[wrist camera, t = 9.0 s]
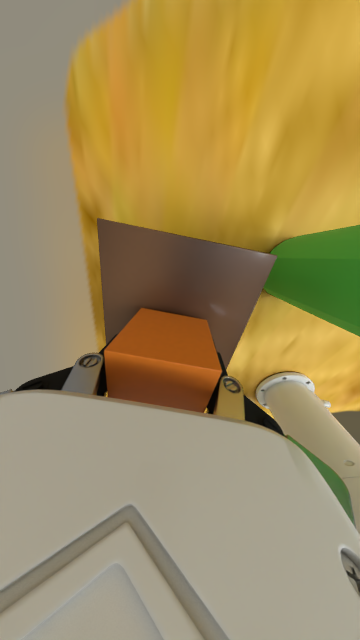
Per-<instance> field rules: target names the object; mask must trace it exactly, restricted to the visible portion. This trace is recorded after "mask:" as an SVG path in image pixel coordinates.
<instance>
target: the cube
mask: <svg viewBox="0 0 360 640" xmlns="http://www.w3.org/2000/svg"><path fill="white" fill-rule="evenodd" d="M104 358H105V369H106V380H107V392H108V397H109V398H116V399H122V400H128V401H134V402H141V403H147V404H153V405H159V406H165V407H171V408H177V409H183V410H189V411H195V412H201V413H204V411H205V409H206V407H207V404H208V402H209V400H210V398H211V395H212V393H213V391H214V388H215V386H216V384H217V382H218V379H219V377H220V375H221V373H222V369H221V366H220V363H219V359H218V356H217V353H216V349H215V346H214V342H213V339H212V336H211V332H210V329H209V326H208V322H207V320H204V319H199V318H193V317H188V316H183V315H177V314H172V313H167V312H161V311H156V310H151V309H145V308H141V309H140V310H139V311H138V312H137V314H136V315H135V316H134V317H133V318H132V319H131V320H130V321H129V323H128V324H127V325H126V326H125V327H124V328H123V329H122V331H121V332H120V333H119V334H118V335H117V336H116V337H115V338H114V340H113V341H112V342H111V343H110V344H109V345H108V346H107V348H106V349H105V350H104Z"/></svg>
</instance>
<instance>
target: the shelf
mask: <svg viewBox="0 0 360 640" xmlns="http://www.w3.org/2000/svg"><path fill="white" fill-rule="evenodd" d="M97 225H98V239H99V252H100V266H101V279H102V293H103V306H104V320H105V333H106V345H107V343H108V342H109V341H110V340H111V339H112V338H113V337H114V336H115V335H116V334H119V333H120V332H121V331H122V329H123V328H124V327H125V326H126V325H127V324H128V323H129V321H130V320H131V319H132V318H133V317H134V316H135V315H136V314H137V312H138V311H139V310H140V309H141V308H145V309H151V310H156V311H161V312H167V313H172V314H177V315H183V316H188V317H193V318H199V319H204V320H207V322H208V326H209V329H210V332H211V336H212V337H213V340H214V343H215V346H216V350H217V352H219V353H220V354H221V357H222V360H223V363H224V366H225V369H227V367H228V364H229V362H230V360H231V358H232V356H233V353H234V351H235V349H236V347H237V344H238V342H239V340H240V338H241V336H242V333H243V331H244V329H245V327H246V325H247V322H248V320H249V318H250V316H251V314H252V311H253V309H254V307H255V305H256V303H257V300H258V298H259V296H260V294H261V292H262V289H263V287H264V285H265V283H266V281H267V278H268V276H269V274H270V272H271V270H272V267H273V265H274V263H275V261H276V259H277V255H273V254H269V253H264V252H259V251H254V250H249V249H244V248H240V247H235V246H230V245H225V244H220V243H215V242H210V241H206V240H201V239H196V238H191V237H186V236H181V235H177V234H172V233H167V232H162V231H157V230H152V229H148V228H143V227H138V226H133V225H128V224H123V223H119V222H114V221H109V220H104V219H99V218H97Z"/></svg>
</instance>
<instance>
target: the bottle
mask: <svg viewBox="0 0 360 640" xmlns="http://www.w3.org/2000/svg"><path fill="white" fill-rule="evenodd" d="M270 254H273V255H277V259H276V261H275V263H274V265H273V267H272V270H271V272H270V274H269V276H268V278H267V281H266V283H265V285H264V287H263V288H264V289H265V290H266V292H267V293H268V294H270V295H273V296H275V297H277V298H279V299H281V300H283V301H285V302H287V303H289V304H292V305H294V306H296V307H298V308H300V309H302V310H304V311H306V312H308V313H311V314H313V315H315V316H317V317H319V318H321V319H323V320H326V321H328V322H330V323H332V324H334V325H336V326H338V327H341V328H343V329H345V330H347V331H349V332H351V333H353V334H355V335H358V336H360V225H357V226H351V227H346V228H340V229H335V230H329V231H324V232H319V233H313V234H308V235H302V236H297V237H294V238H291V239H288V240H285V241H284V242H282V243H281V244H279V245H278V246H276V247H275V248H274V249H273V250H272V251H271V253H270Z"/></svg>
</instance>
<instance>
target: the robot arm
mask: <svg viewBox="0 0 360 640" xmlns="http://www.w3.org/2000/svg"><path fill="white" fill-rule="evenodd" d="M117 335H118V334H116V335H115V336H114V337H113V338H112V339H111V340H110V341H109V342H108V343H107V345H106V346H105V347H104V348H103V349H102V350H101V351H100V352H99V353H89V354H85V355H83V356H82V357H80V358H79V359H78V360H77V361H76V363H75V365H74V366H73V367H70V368H66V369H64V370H60V371H58V372H54V373H51V374H48V375H45V376H42V377H39V378H36V379H33V380H30V381H28V382H26V383H24V384H22V385H21V386H20V387H19V388H17V389H16V390H15V391H12V389H11V390H7V391H4V392H1V393H0V640H360V445H359V444H358V443H357V442H356V441H355V439H354V438H352V436H351V435H350V434H349V433H348V432H347V431H346V430H345V429H344V427H343V426H342V425H341V424H340V423H339V422H338V421H337V420H336V419H335V417H334V416H333V415H332V414H331V413H330V412H329V410H328V409H327V408H326V407H328V408H329V407H330V406H331V404H330V402H329V401H326V400H320V399H319V398H318V397H317V395H316V394H315V393H314V390H315V387H314V384H313V382H312V381H311V380H310V379H309V378H308V377H307V376H305V375H303V374H300V373H296V372H284V373H279V374H276V375H273V376H270V377H268V378H267V379H265V380H264V381H263V382H261V383H260V385H259V386H258V387H257V390H256V398H257V400H258V402H259V403H260V404H261V405H262V406H263V407H265V408H268V409H270V411H271V413H272V415H273V417H274V418H275V420H276V421H275V420H274V419H273V418H272V417H270V416H269V415H268V414H267V413H265V412H264V411H263V410H262V409H261V408H259V407H258V406H257V405H256V404H254V403H253V402H252V401H251V400H250V399H248V398H247V397H246V396H245V395H243V387H242V385H241V384H240V382H239V381H238V380H236V379H235V378H233V377H231V376H228V375H227V372H226V369H225V366H224V363H223V360H222V357H221V354H220V353H219V352H217V350H216V353H217V356H218V359H219V363H220V366H221V369H222V373H221V375H220V377H219V379H218V382H217V384H216V386H215V388H214V391H213V393H212V395H211V398H210V400H209V402H208V404H207V407H206V408H207V413H201V412H195V411H189V410H183V409H177V408H171V407H165V406H159V405H153V404H147V403H141V402H134V401H128V400H122V399H116V398H109V397H106V393H107V380H106V369H105V358H104V350H105V349H106V348H107V346H108V345H109V344H110V343H111V342H112V341H113V340H114V338H115V337H116V336H117ZM212 339H213V337H212ZM213 342H214V340H213ZM214 346H215V343H214ZM215 349H216V346H215Z"/></svg>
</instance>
